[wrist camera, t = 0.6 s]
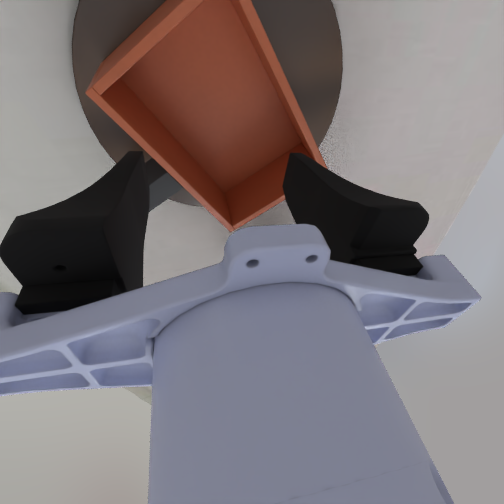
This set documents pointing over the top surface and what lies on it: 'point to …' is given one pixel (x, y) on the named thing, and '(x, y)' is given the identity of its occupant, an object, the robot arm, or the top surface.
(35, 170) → the top surface
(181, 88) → the bin
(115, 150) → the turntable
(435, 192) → the top surface
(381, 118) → the top surface
